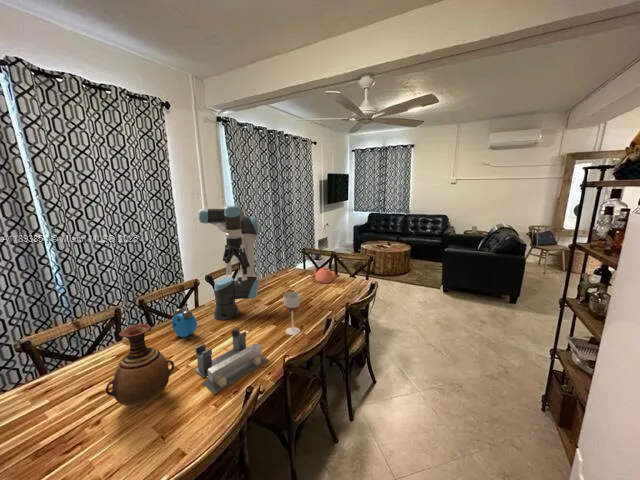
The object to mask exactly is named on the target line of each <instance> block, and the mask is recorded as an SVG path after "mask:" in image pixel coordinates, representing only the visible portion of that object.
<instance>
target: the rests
mask: <svg viewBox="0 0 640 480" xmlns="http://www.w3.org/2000/svg"><path fill="white" fill-rule="evenodd" d="M250 361H251V362H252V363H254V364H255V365H258V364H260V363H261V358H260V357H259V356H257V357H255V358H254V359H252V360H250ZM215 383H217V384H218V385H219V386H220V387H221V388H222V387H223V386H225V385H226V384H227V383H226V378H224V377H222V378H220V379H218V380H217V381H215Z"/></svg>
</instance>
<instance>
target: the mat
mask: <svg viewBox="0 0 640 480" xmlns="http://www.w3.org/2000/svg"><path fill="white" fill-rule="evenodd" d="M259 357H260V358H261V363H260V364H258V365H255V364H254V363H252V362H251V361H248V362H247V363H245V364H243V365H242V366H240V367H238V368H237V369H235V370H233V371H232V372H230V373H228V374H227V375H225V376H223V377H224V378H226V383H227V384H226V385H225V386H223V387H222V388H221V387H220V386H219V385H218V384H217V383H215V382H213V383H212V382H211V381H210V380H209V379H208V378H207V379H206V380H205V379H204V381H202V382H201V385H203V387H205V386H206V387H207V388H208V389H209V390H210V391H211V392H212V393H213V394H212V393H211V392H210V391H209V390H208V389H207V388H206V387H205V388H206V389H207V390H208V391H209V392H210V393H211V394H212V395H214V394H215V395H216V393H217V392H218V393H220V392H221V391H223V390H225V389H226V388H228V387H229V386H231V385H233V384H234V383H236V382H237V381H239V380H241V379H242V378H243V377H245V376H246V375H248V374H250V373H252V372H253V371H255V370H256V369H258V368H260V367H261V366H263V365H264V364H266V363H267V362H269V360H270V359H268V358H266V357H265V356H263V355H262V354H260V355H259ZM235 381H236V382H235ZM232 383H233V384H232ZM227 386H228V387H227ZM225 387H226V388H225ZM224 388H225V389H224ZM222 389H223V390H222ZM219 391H220V392H219ZM218 393H217V394H218Z"/></svg>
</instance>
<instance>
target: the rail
mask: <svg viewBox="0 0 640 480" xmlns="http://www.w3.org/2000/svg"><path fill="white" fill-rule="evenodd" d="M259 355H262V345H261V344H260V343H258V342H255V343H253V344H251V345H250V346H248V347H247V346H246V349H244V350H242V351H240V352H238V353H236V354H235V355H233V356H231V357H229V358H227V359H226V360H224V361H222V362H220V363H218V364H216V365H215V366H213V367H211V368H209V369H207V370H208V377H207V379H209V380H210V381H211V382H212V383H213V382H215V381H217V380H218V379H220V378H222V377H223V376H225V375H227V374H228V373H230V372H232V371H233V370H235V369H237V368H238V367H240V366H242V365H243V364H245V363H247V362H248V361H250V360H252V359H254V358H255V357H257V356H259Z"/></svg>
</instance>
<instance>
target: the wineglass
mask: <svg viewBox="0 0 640 480" xmlns="http://www.w3.org/2000/svg"><path fill="white" fill-rule="evenodd" d="M282 296H283V297H282V298H283V304H284V307H285V308H286V309H287V311H290V312H291V327H288V328H286V329H285V333H286V334H287V335H290V336H294V335H295V336H296V335H298V334H300V332H301V330H300V329H301V328H299V327H295V326H294V311H297V310H298V309H299V308H300V304H301V298H302V297H301V293H300V292H298V291H287V292H285V293H283V295H282Z"/></svg>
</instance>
